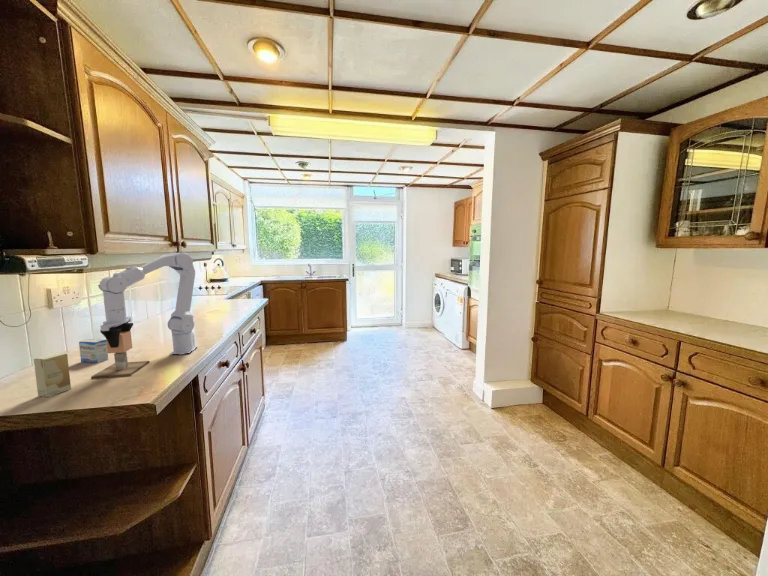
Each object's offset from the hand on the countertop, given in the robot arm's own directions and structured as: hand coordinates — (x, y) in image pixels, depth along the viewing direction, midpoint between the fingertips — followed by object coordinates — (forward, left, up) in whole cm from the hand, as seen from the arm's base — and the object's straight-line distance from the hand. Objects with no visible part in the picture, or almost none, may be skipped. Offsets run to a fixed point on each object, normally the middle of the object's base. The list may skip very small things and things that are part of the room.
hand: (119, 344), depth 114 cm
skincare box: (+16, -10, -10) cm, 21 cm away
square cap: (0, 0, -2) cm, 2 cm away
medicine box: (-14, -17, -10) cm, 24 cm away
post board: (0, 0, -10) cm, 10 cm away
